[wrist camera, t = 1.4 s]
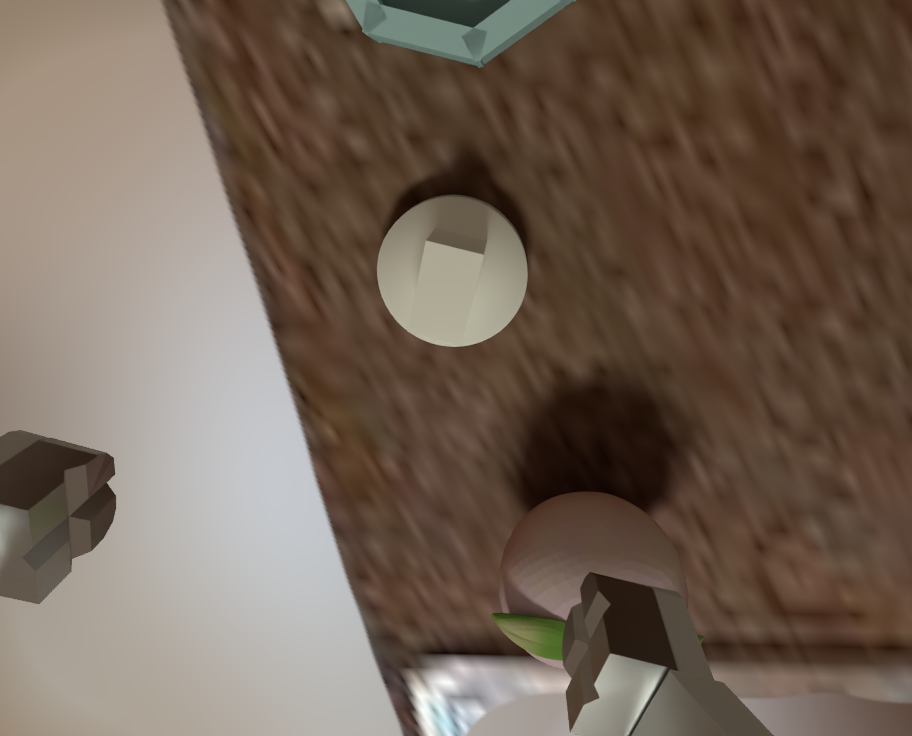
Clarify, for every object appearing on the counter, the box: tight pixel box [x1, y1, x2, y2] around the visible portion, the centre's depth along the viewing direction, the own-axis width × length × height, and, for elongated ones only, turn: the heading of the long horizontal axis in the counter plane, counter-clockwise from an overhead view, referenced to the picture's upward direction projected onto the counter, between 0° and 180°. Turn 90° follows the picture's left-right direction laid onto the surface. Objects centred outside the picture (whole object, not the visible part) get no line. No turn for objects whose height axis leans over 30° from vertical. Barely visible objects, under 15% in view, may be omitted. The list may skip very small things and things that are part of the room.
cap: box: [377, 194, 528, 347], centre depth 25 cm, size 7×7×4 cm
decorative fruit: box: [491, 491, 705, 669], centre depth 27 cm, size 9×8×10 cm
